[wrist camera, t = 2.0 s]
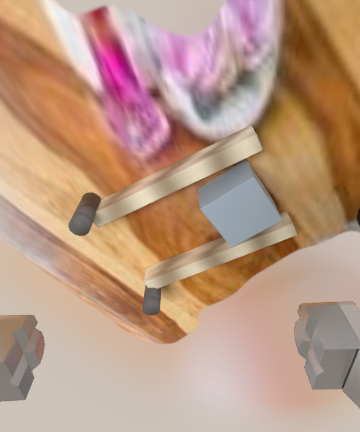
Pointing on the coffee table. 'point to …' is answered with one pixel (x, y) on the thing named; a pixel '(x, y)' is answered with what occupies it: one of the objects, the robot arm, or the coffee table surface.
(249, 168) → the block
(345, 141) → the coffee table surface
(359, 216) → the coffee mug
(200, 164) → the double bar rack
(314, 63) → the coffee table surface
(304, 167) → the coffee table surface
